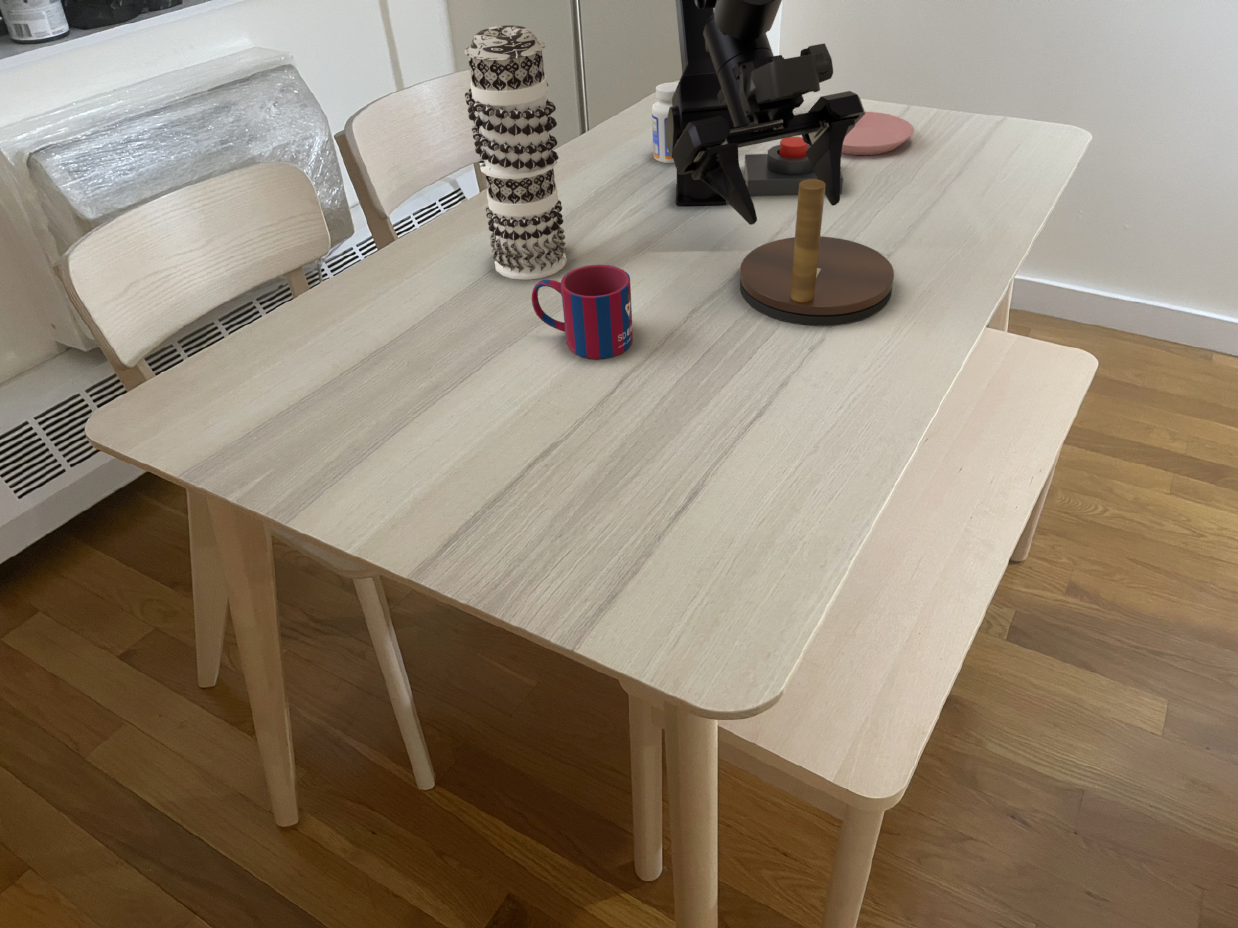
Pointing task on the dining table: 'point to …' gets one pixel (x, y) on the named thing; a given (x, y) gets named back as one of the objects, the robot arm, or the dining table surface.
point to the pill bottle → (662, 120)
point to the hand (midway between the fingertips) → (795, 213)
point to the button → (793, 147)
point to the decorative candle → (516, 151)
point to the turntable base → (813, 319)
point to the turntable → (816, 266)
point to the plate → (876, 134)
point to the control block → (777, 173)
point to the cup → (592, 310)
